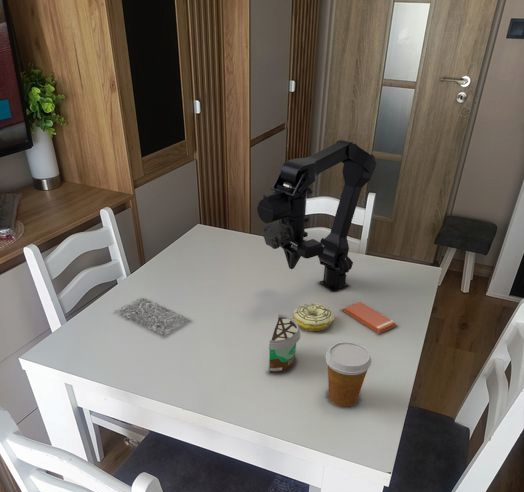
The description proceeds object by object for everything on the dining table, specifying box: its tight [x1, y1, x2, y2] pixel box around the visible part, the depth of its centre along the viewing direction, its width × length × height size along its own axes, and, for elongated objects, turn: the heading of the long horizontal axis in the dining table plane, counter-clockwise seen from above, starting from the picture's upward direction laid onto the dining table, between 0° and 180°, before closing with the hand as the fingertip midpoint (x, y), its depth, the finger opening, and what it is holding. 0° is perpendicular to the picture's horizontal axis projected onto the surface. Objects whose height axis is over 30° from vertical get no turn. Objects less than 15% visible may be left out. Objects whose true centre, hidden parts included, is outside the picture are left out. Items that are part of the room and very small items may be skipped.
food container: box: [268, 313, 301, 374], centre depth 114 cm, size 12×6×10 cm, turn 168°
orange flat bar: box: [342, 301, 397, 335], centre depth 133 cm, size 14×6×1 cm, turn 35°
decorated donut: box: [293, 303, 335, 332], centre depth 130 cm, size 10×11×4 cm
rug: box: [114, 297, 190, 336], centre depth 133 cm, size 10×20×1 cm, turn 52°
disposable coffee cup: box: [325, 341, 373, 408], centre depth 103 cm, size 10×10×12 cm
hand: (291, 268), depth 132 cm, fingers closed
